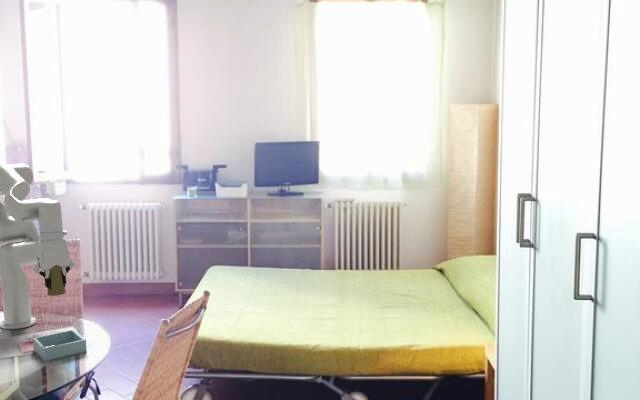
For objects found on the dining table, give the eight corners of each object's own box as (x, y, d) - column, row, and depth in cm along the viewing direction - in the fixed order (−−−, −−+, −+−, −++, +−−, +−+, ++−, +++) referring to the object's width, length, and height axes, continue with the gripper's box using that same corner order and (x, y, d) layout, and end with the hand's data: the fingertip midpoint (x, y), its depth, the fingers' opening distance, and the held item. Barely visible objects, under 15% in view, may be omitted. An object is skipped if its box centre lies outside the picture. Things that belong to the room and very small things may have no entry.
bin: (33, 350, 228) (32, 337, 227) (74, 341, 236) (73, 329, 236) (44, 362, 217) (43, 349, 217) (86, 352, 225) (85, 339, 225)
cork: (59, 295, 231) (57, 264, 230) (43, 295, 232) (41, 264, 231) (69, 291, 237) (66, 260, 236) (53, 291, 238) (51, 260, 237)
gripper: (72, 231, 240) (76, 281, 242) (23, 238, 230) (28, 290, 232) (79, 234, 234) (83, 285, 236) (29, 241, 224) (34, 294, 226)
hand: (56, 286), depth 234 cm, fingers closed on cork, 4 cm apart
